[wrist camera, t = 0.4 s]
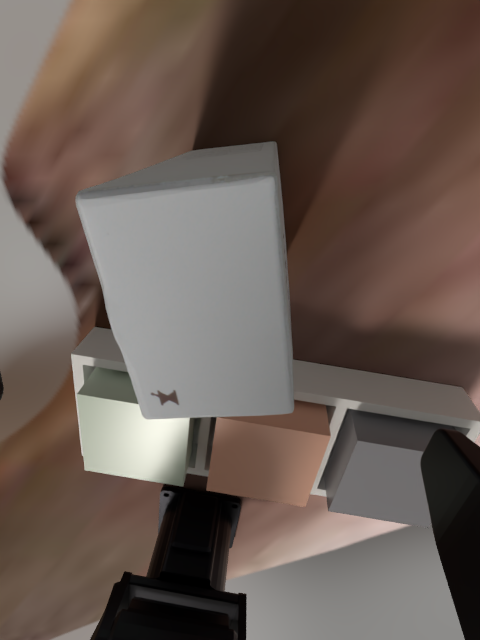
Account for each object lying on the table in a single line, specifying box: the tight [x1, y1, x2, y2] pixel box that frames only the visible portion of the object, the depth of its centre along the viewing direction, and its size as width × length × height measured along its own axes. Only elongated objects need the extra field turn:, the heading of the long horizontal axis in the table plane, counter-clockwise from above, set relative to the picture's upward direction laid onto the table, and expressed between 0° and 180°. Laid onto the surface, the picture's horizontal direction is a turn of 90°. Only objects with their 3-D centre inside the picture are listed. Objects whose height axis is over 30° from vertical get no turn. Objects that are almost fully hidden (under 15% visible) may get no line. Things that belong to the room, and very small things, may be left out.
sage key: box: [77, 367, 195, 487], centre depth 22 cm, size 6×6×2 cm
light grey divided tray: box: [71, 327, 480, 496], centre depth 24 cm, size 8×23×3 cm, turn 82°
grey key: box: [324, 409, 456, 528], centre depth 22 cm, size 6×6×2 cm
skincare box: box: [76, 141, 294, 420], centre depth 14 cm, size 6×4×12 cm
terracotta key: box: [206, 400, 331, 507], centre depth 22 cm, size 6×6×2 cm
